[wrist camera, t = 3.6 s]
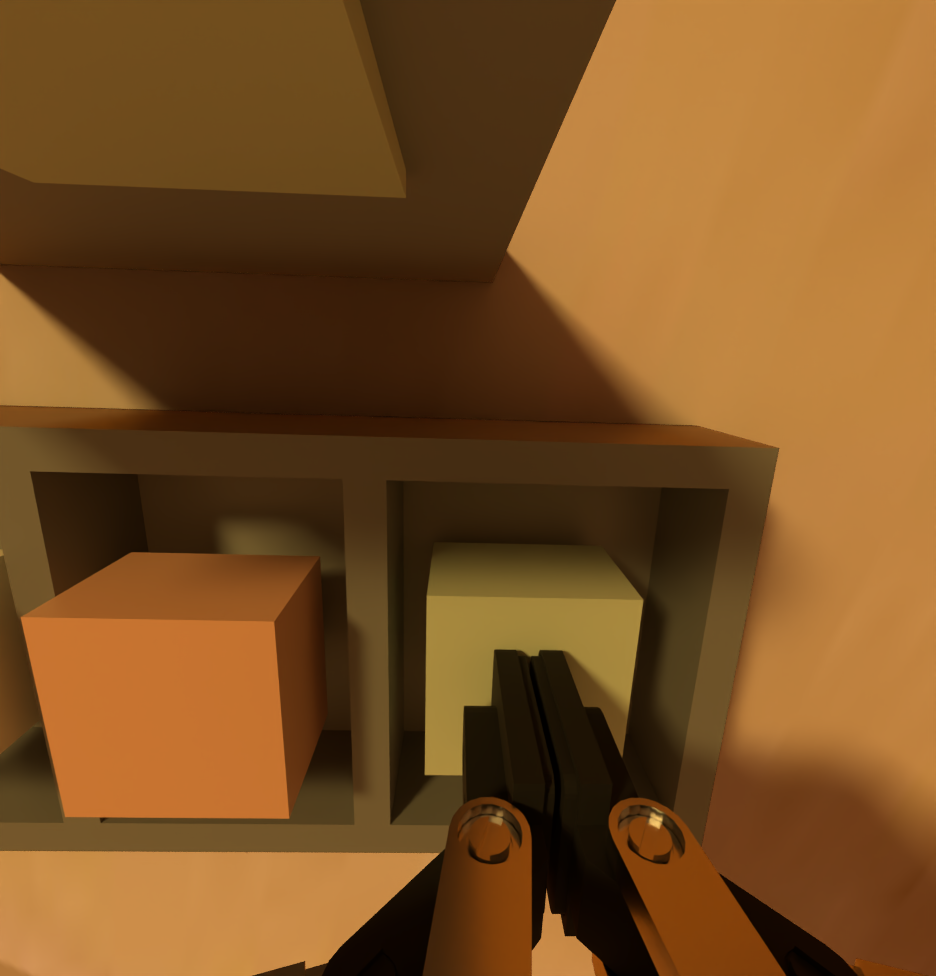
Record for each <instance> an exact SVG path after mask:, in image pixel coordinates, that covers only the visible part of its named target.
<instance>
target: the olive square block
mask: <svg viewBox="0 0 936 976" xmlns="http://www.w3.org/2000/svg"><path fill="white" fill-rule="evenodd" d="M642 607H643V599H642V597H641V596H640V595H639V594H638V592H637V591H636V590H635V588H634V587H633V586H632V585H631V583H630V582H629V581H628V579H627V578H626V577H625V575H624V574H623V573H622V572H621V570H620V569H619V568H618V566H617V565H616V564H615V563H614V561H613V560H612V559H611V557H610V556H609V555H608V554H607V552H606V551H605V550H604V548H603V547H602V546H588V545H543V544H498V543H453V542H434V545H433V552H432V560H431V567H430V575H429V582H428V590H427V614H426V708H425V775H462V744H463V712H464V706H491V697H492V678H493V658H494V649H505V650H517V653H518V656H525V657H526V661H527V665H528V669H529V673H530V660H531V656H538V653H539V651H540V650H562V651H563V653H564V656H565V658H566V661H567V664H568V666H569V669H570V672H571V674H572V677H573V680H574V682H575V685H576V688H577V690H578V693H579V696H580V698H581V701H582V704H583V706H584V707H599V708H600V709H601V710H602V712H603V714H604V717H605V719H606V721H607V724H608V726H609V728H610V731H611V733H612V736H613V738H614V740H615V743H616V745H617V747H618V750H619V752H620V754H621V757H622V756H623V748H624V741H625V734H626V726H627V719H628V711H629V704H630V696H631V689H632V681H633V674H634V667H635V659H636V652H637V644H638V637H639V629H640V622H641V614H642Z"/></svg>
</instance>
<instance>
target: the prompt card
mask: <svg viewBox="0 0 936 976" xmlns="http://www.w3.org/2000/svg"><path fill="white" fill-rule="evenodd" d="M615 2H616V0H0V264H2V265H29V266H57V267H84V268H111V269H139V270H166V271H193V272H220V273H248V274H275V275H302V276H330V277H357V278H384V279H411V280H439V281H466V282H493V280H494V277H495V275H496V273H497V271H498V268H499V266H500V264H501V261H502V259H503V257H504V255H505V252H506V250H507V248H508V246H509V243H510V241H511V239H512V236H513V234H514V232H515V230H516V227H517V225H518V223H519V220H520V218H521V216H522V214H523V211H524V209H525V207H526V204H527V202H528V200H529V198H530V195H531V193H532V191H533V189H534V186H535V184H536V182H537V179H538V177H539V175H540V173H541V170H542V168H543V166H544V163H545V161H546V159H547V157H548V154H549V152H550V150H551V147H552V145H553V143H554V141H555V138H556V136H557V134H558V131H559V129H560V127H561V125H562V122H563V120H564V118H565V116H566V113H567V111H568V109H569V106H570V104H571V102H572V100H573V97H574V95H575V93H576V90H577V88H578V86H579V84H580V81H581V79H582V77H583V74H584V72H585V70H586V68H587V65H588V63H589V61H590V59H591V56H592V54H593V52H594V49H595V47H596V45H597V43H598V40H599V38H600V36H601V33H602V31H603V29H604V27H605V24H606V22H607V20H608V17H609V15H610V13H611V11H612V8H613V6H614V4H615Z"/></svg>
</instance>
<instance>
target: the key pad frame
mask: <svg viewBox="0 0 936 976" xmlns="http://www.w3.org/2000/svg"><path fill="white" fill-rule="evenodd" d="M778 452H779V448H777V447H773V446H769V445H766V444H762V443H758V442H755V441H751V440H747V439H744V438H740V437H736V436H733V435H729V434H725V433H722V432H718V431H714V430H711V429H707V428H703V427H700V426H692V425H658V424H623V423H589V422H555V421H520V420H486V419H451V418H417V417H382V416H348V415H313V414H279V413H244V412H210V411H176V410H141V409H107V408H72V407H38V406H3V405H0V549H2V550H3V555H4V559H5V564H6V568H7V573H8V577H9V582H10V586H11V590H12V595H13V599H14V604H15V608H16V613H17V617H18V622H19V626H20V630H21V635H22V639H23V644H24V648H25V653H26V657H27V662H28V666H29V671H30V675H31V679H32V684H33V688H34V693H35V697H36V702H37V706H38V711H39V715H40V720H39V721H38V722H37V723H36V724H35V725H33V726H32V727H31V728H30V729H29V730H28V731H26V732H25V733H24V734H23V735H22V736H21V737H20V738H18V739H17V740H16V741H15V742H14V743H13V744H11V745H10V746H9V747H8V748H7V749H6V750H4V751H3V752H2V753H1V754H0V851H146V852H349V853H441V852H442V851H443V850H444V849H445V847H446V842H447V836H448V830H449V826H450V823H451V820H452V817H453V815H454V814H455V813H456V811H457V810H458V809H459V808H460V807H461V806H462V805H463V782H462V775H425V708H426V614H427V590H428V582H429V575H430V567H431V560H432V552H433V545H434V542H453V543H498V544H543V545H588V546H602V547H603V548H604V550H605V551H606V552H607V554H608V555H609V556H610V557H611V559H612V560H613V561H614V563H615V564H616V565H617V566H618V568H619V569H620V570H621V572H622V573H623V574H624V575H625V577H626V578H627V579H628V581H629V582H630V583H631V585H632V586H633V587H634V588H635V590H636V591H637V592H638V594H639V595H640V596H641V597H642V599H643V607H642V614H641V622H640V629H639V637H638V644H637V652H636V659H635V667H634V674H633V681H632V689H631V696H630V704H629V711H628V719H627V726H626V734H625V741H624V748H623V756H622V759H623V762H624V764H625V766H626V769H627V771H628V773H629V776H630V778H631V780H632V783H633V785H634V788H635V790H636V792H637V795H638V797H639V798H645V799H648V800H652V801H656V802H657V803H659V804H661V805H663V806H665V807H667V808H669V809H670V810H671V811H673V812H674V813H675V814H676V815H678V816H679V817H680V819H681V820H682V821H683V822H684V823H685V824H686V826H687V827H688V828H689V830H690V831H691V833H692V834H693V836H694V837H695V839H696V840H697V842H698V843H699V845H700V846H701V847H702V841H703V836H704V831H705V826H706V821H707V816H708V811H709V805H710V800H711V795H712V790H713V785H714V780H715V775H716V770H717V764H718V759H719V754H720V749H721V744H722V739H723V734H724V729H725V723H726V718H727V713H728V708H729V703H730V698H731V693H732V688H733V682H734V677H735V672H736V667H737V662H738V657H739V652H740V646H741V641H742V636H743V631H744V626H745V621H746V616H747V611H748V605H749V600H750V595H751V590H752V585H753V580H754V575H755V570H756V564H757V559H758V554H759V549H760V544H761V539H762V534H763V529H764V523H765V518H766V513H767V508H768V503H769V498H770V493H771V487H772V482H773V477H774V472H775V467H776V462H777V457H778ZM131 552H146V553H193V554H240V555H287V556H320V562H321V583H322V603H323V624H324V644H325V665H326V685H327V706H328V715H327V718H326V720H325V723H324V726H323V729H322V731H321V734H320V737H319V739H318V742H317V745H316V748H315V750H314V753H313V756H312V758H311V761H310V764H309V767H308V769H307V772H306V775H305V777H304V780H303V783H302V786H301V788H300V791H299V794H298V796H297V799H296V802H295V805H294V807H293V810H292V813H291V815H290V818H289V819H275V818H128V817H65V814H64V810H63V805H62V801H61V796H60V792H59V787H58V783H57V778H56V774H55V769H54V765H53V760H52V756H51V751H50V747H49V742H48V738H47V733H46V729H45V724H44V720H43V715H42V711H41V706H40V702H39V698H38V693H37V689H36V684H35V680H34V675H33V671H32V666H31V662H30V657H29V653H28V648H27V644H26V639H25V635H24V630H23V626H22V621H21V617H22V616H23V615H25V614H27V613H29V612H30V611H32V610H34V609H35V608H37V607H39V606H40V605H42V604H44V603H46V602H47V601H49V600H51V599H52V598H54V597H56V596H58V595H59V594H61V593H63V592H64V591H66V590H68V589H69V588H71V587H73V586H75V585H76V584H78V583H80V582H81V581H83V580H85V579H86V578H88V577H90V576H92V575H93V574H95V573H97V572H98V571H100V570H102V569H104V568H105V567H107V566H109V565H110V564H112V563H114V562H115V561H117V560H119V559H121V558H122V557H124V556H126V555H127V554H129V553H131Z"/></svg>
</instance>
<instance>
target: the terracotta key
mask: <svg viewBox="0 0 936 976" xmlns="http://www.w3.org/2000/svg"><path fill="white" fill-rule="evenodd" d="M21 621H22V626H23V630H24V635H25V639H26V644H27V648H28V653H29V657H30V662H31V666H32V671H33V675H34V680H35V684H36V689H37V693H38V698H39V702H40V706H41V711H42V715H43V720H44V724H45V729H46V733H47V738H48V742H49V747H50V751H51V756H52V760H53V765H54V769H55V774H56V778H57V783H58V787H59V792H60V796H61V801H62V805H63V810H64V814H65V817H128V818H275V819H289V818H290V815H291V813H292V810H293V807H294V805H295V802H296V799H297V796H298V794H299V791H300V788H301V786H302V783H303V780H304V777H305V775H306V772H307V769H308V767H309V764H310V761H311V758H312V756H313V753H314V750H315V748H316V745H317V742H318V739H319V737H320V734H321V731H322V729H323V726H324V723H325V720H326V718H327V715H328V706H327V685H326V665H325V644H324V624H323V603H322V583H321V562H320V556H287V555H240V554H193V553H146V552H131V553H129V554H127V555H126V556H124V557H122V558H121V559H119V560H117V561H115V562H114V563H112V564H110V565H109V566H107V567H105V568H104V569H102V570H100V571H98V572H97V573H95V574H93V575H92V576H90V577H88V578H86V579H85V580H83V581H81V582H80V583H78V584H76V585H75V586H73V587H71V588H69V589H68V590H66V591H64V592H63V593H61V594H59V595H58V596H56V597H54V598H52V599H51V600H49V601H47V602H46V603H44V604H42V605H40V606H39V607H37V608H35V609H34V610H32V611H30V612H29V613H27V614H25V615H23V616H22V617H21Z"/></svg>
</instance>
